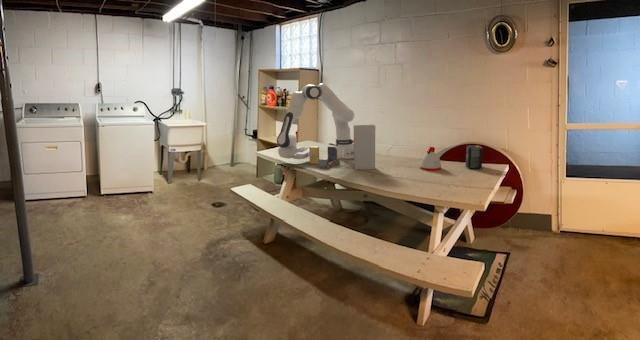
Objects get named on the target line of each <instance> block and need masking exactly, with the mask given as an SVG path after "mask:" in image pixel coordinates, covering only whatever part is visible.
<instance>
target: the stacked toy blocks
mask: <svg viewBox="0 0 640 340" xmlns="http://www.w3.org/2000/svg"><path fill="white" fill-rule="evenodd" d="M327 159H328V164H327V168H326V169H330V168H332V167H333V166H334V167H335V165H338V164H339V163H340V162H341V161H340V159H341V158H337V148H336V146H331V145H329V146H327ZM314 168H317V169H318V168H319V165H317V166H316V167H314ZM319 169H320V168H319Z"/></svg>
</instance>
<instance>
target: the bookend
mask: <svg viewBox="0 0 640 340" xmlns="http://www.w3.org/2000/svg"><path fill="white" fill-rule="evenodd" d="M327 164H328V158H320V157H319V163H318V166H319V169H328V168H327Z"/></svg>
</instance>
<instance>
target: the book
mask: <svg viewBox="0 0 640 340" xmlns="http://www.w3.org/2000/svg"><path fill="white" fill-rule="evenodd" d="M308 148H309V154H314V156H310V157H309V164H315V165H319V159H320V146H318V145H317V146H316V145H315V146H313V145H311V146H309V147H308Z"/></svg>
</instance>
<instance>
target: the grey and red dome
mask: <svg viewBox="0 0 640 340" xmlns="http://www.w3.org/2000/svg"><path fill="white" fill-rule="evenodd" d="M435 150H436V147H434V146H429V149H428V150H427V152H426V153H425V154H424V155H423V156H422V158H420V159H421V160H420V164H419V169H420V170H422V171H428V172H431V171H432V172H436V171H441V169H442V164H441V163H442V162H441V159H440V158H439V156H438V154H436V152H435Z"/></svg>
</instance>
